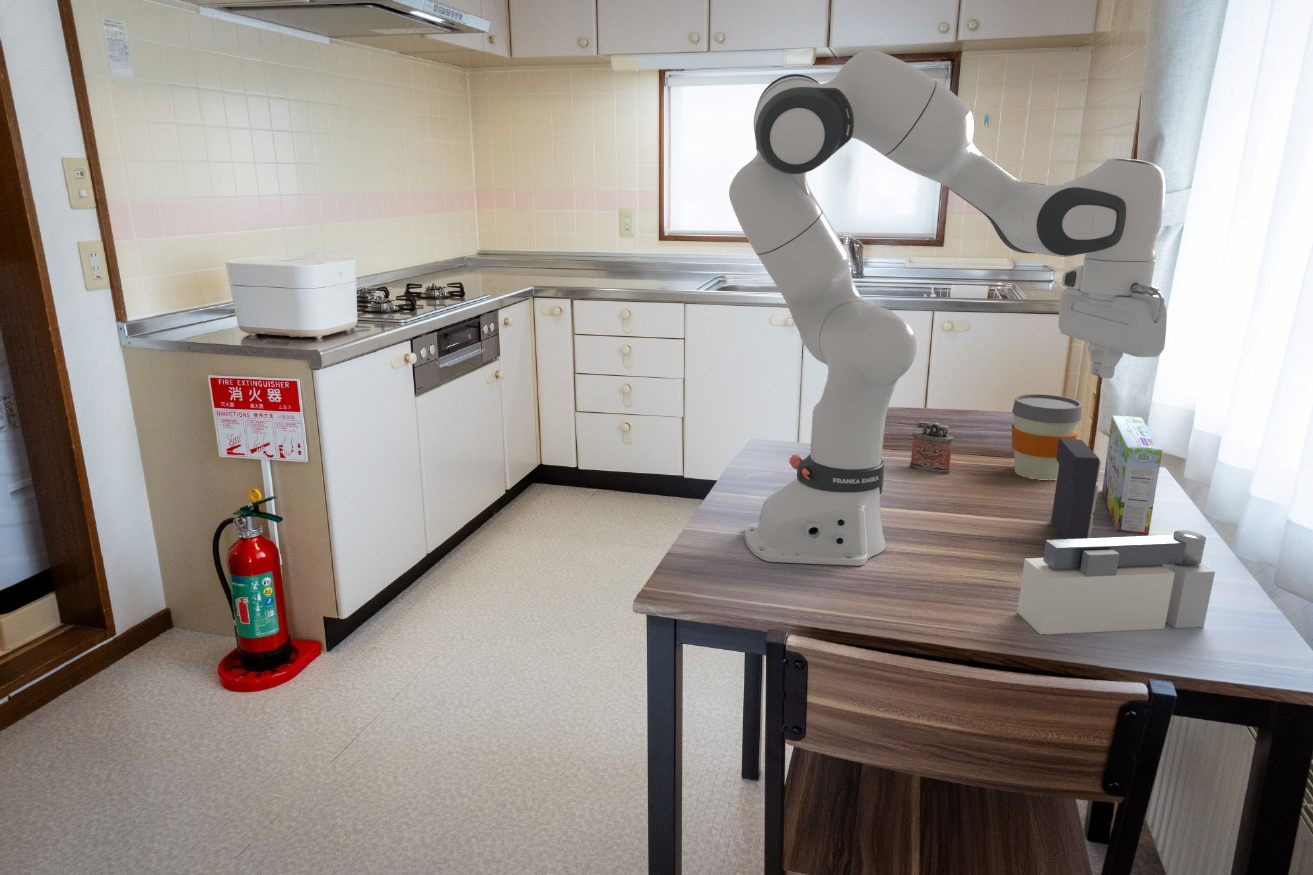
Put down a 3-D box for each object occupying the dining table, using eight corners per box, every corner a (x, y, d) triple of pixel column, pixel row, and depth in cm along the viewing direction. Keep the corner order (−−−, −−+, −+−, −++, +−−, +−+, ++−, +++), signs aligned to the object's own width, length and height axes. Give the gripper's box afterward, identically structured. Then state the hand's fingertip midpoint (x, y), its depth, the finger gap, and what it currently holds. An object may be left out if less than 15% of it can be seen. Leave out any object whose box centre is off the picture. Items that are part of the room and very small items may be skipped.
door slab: (1040, 634, 111) (1051, 556, 108) (1017, 612, 117) (1027, 537, 113) (1164, 628, 112) (1179, 551, 109) (1135, 607, 118) (1148, 533, 115)
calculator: (1091, 547, 137) (1105, 459, 133) (1062, 545, 138) (1075, 457, 134) (1073, 522, 148) (1086, 439, 143) (1047, 520, 148) (1058, 437, 144)
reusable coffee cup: (1004, 460, 180) (1013, 391, 176) (1070, 467, 176) (1081, 396, 172) (1004, 479, 169) (1013, 405, 165) (1074, 487, 165) (1086, 411, 160)
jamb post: (1175, 628, 112) (1185, 572, 110) (1146, 606, 118) (1155, 553, 116) (1203, 626, 113) (1215, 571, 111) (1173, 605, 119) (1183, 552, 116)
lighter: (951, 471, 174) (956, 423, 171) (947, 475, 171) (952, 427, 168) (912, 464, 178) (916, 418, 175) (907, 468, 175) (911, 421, 172)
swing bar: (1188, 553, 115) (1193, 529, 114) (1207, 564, 112) (1212, 540, 111) (1040, 559, 113) (1044, 535, 112) (1055, 571, 110) (1059, 546, 109)
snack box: (1098, 490, 163) (1110, 414, 159) (1131, 494, 161) (1144, 416, 157) (1113, 531, 144) (1127, 445, 140) (1151, 536, 142) (1166, 449, 138)
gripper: (1187, 288, 111) (1169, 392, 115) (1095, 272, 130) (1082, 362, 134) (1141, 289, 110) (1124, 393, 114) (1056, 273, 130) (1044, 362, 134)
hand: (1101, 376), depth 125 cm, fingers closed
